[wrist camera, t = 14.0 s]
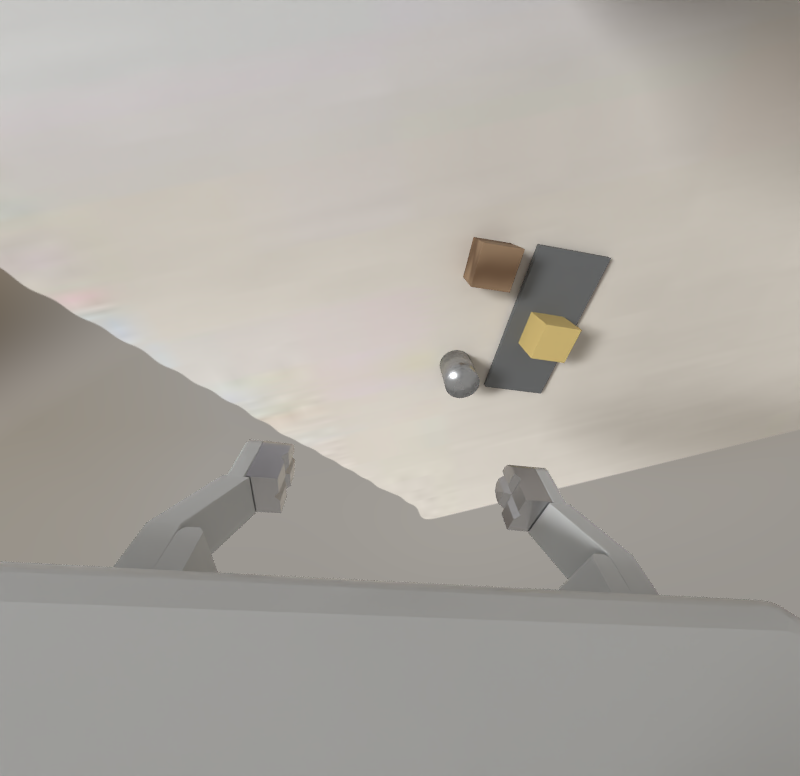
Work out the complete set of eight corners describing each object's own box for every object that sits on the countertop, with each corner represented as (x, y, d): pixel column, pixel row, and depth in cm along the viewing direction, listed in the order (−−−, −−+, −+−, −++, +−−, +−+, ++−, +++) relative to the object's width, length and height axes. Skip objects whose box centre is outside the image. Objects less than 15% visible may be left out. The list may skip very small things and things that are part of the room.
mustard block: (531, 311, 42) (546, 324, 38) (563, 316, 43) (581, 330, 39) (518, 342, 45) (531, 358, 41) (548, 347, 46) (564, 362, 42)
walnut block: (473, 236, 38) (483, 242, 34) (510, 243, 38) (524, 249, 34) (463, 276, 40) (471, 286, 36) (497, 282, 41) (509, 292, 37)
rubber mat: (537, 244, 38) (540, 244, 38) (607, 256, 39) (611, 258, 39) (484, 383, 50) (485, 386, 50) (538, 390, 51) (540, 393, 51)
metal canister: (443, 348, 46) (450, 367, 41) (474, 352, 47) (484, 371, 42) (436, 375, 49) (441, 395, 44) (465, 378, 50) (473, 399, 45)
